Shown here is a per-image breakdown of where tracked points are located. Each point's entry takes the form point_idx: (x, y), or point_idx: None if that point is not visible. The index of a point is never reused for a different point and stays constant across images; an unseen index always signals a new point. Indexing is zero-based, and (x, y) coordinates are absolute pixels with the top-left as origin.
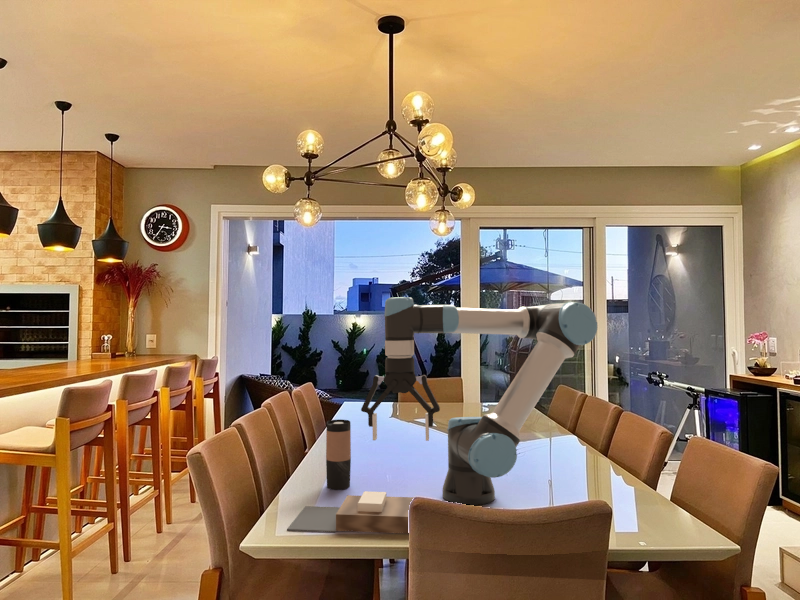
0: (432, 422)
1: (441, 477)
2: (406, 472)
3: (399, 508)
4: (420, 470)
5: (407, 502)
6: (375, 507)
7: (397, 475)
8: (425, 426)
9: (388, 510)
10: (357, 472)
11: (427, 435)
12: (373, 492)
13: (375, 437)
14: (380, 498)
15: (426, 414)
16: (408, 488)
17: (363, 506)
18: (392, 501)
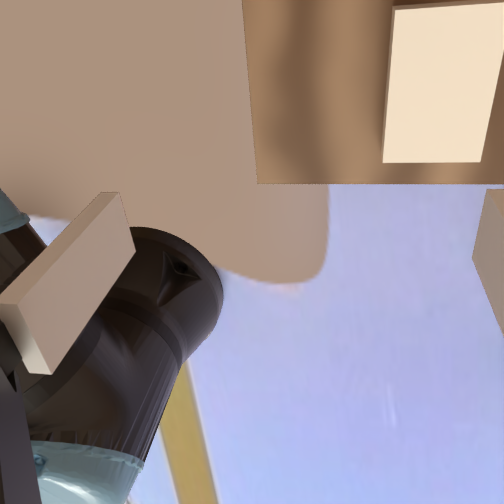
0: (15, 277)
1: (246, 403)
2: (341, 435)
3: (321, 61)
4: (305, 444)
5: (298, 130)
6: (422, 6)
7: (365, 419)
8: (72, 243)
9: (364, 30)
10: (485, 444)
11: (91, 207)
12: (437, 153)
13: (493, 200)
14: (404, 82)
15: (16, 321)
16: (325, 338)
17: (481, 2)
18: (356, 135)
